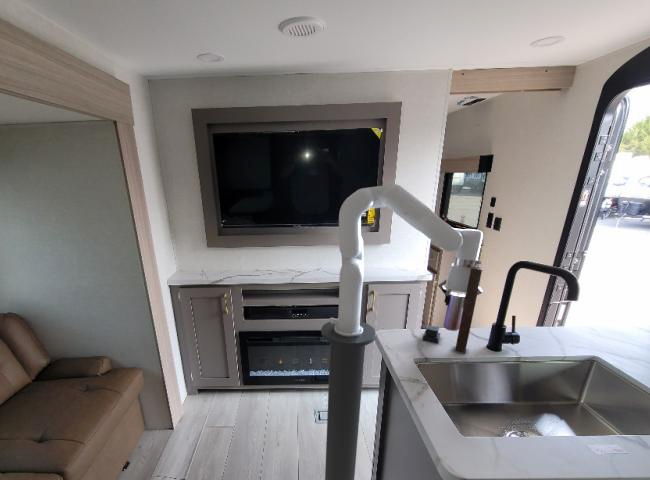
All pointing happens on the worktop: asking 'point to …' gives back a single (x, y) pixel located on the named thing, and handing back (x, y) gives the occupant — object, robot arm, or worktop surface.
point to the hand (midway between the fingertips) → (455, 305)
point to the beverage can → (454, 311)
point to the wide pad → (431, 338)
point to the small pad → (432, 331)
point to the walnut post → (468, 308)
